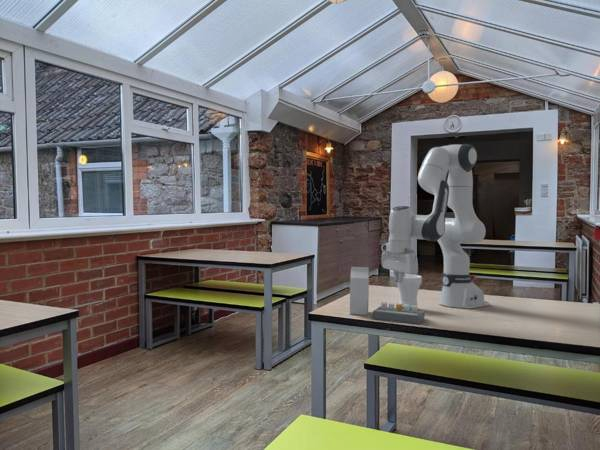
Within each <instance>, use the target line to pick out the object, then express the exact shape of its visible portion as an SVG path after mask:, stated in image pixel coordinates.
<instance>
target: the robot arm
mask: <svg viewBox="0 0 600 450" xmlns="http://www.w3.org/2000/svg"><path fill="white" fill-rule="evenodd" d="M426 153H427V154H426V155H425V157H424V158H423V160H422V163H421V166H420V168H419V171H418V175H417V181H418V185H419V186H420V188H421V189H423V190H424V191H425V192H427V193H429V194H431V195H433V196H434V199H433V205H432V211H431V213H430V214H425V215H424V214H416V213H414V212H413V211H412V209H411V207H410V206H408V205H401V206H394V207H392V208H391V210H390V212H389V217H388V232H389V237H388V242H386V243H385V244H382V245H381V251H382V253H381V266H382V268H383V269H386V270H390V271H392V272H393V277H394V282H395V283H396V282H397V283H403V278H404V276H405V274H411V275H418V272H419V263H418V261H419V260H418V257H417V253H416V252H415V250H414V249H412V239H416V240H425V241H430V242H437V243H438V244H439V246H440V249H441V253H442V257H443V272H442V278H441V279H442V280H441V281H442V290H441V295H440V298H439V301H438V304H439V305H441V306H444V307H449V308H458V309H459V308H461V309H468V310H469V309H475V308H480V307H481V308H482V307H487V306H490V302H489V301H486V300H485V293H484V291H483V290H482V289H481V288H480V287H479V286H477V285H476V284H475V283H474V282H473V280H475V281H476V280H477V279H478V276H477V275H476V274H470V266H471V265H470V264H471V263H470V262H471V261H470V255H469V254H468V253H467V252H466V251H464V250H463V248H462V246H461V244H467V245H469V244H470V245H471V244H478V243H481V242H482V241H483V240H484V238H485V237H486V227H485V223H483V222H482V221H481V220H480V219H479V218H478V216H477V215H476V212H475V209H474V205H473V186H474V179H473V178H474V177H473V171H472V169H473V168H474V166H476V163H477V161H478V153H477V150H476V148H475V146H474V145H472V144H468V143H463V144H460V143H459V144H456V143H455V144H448V145H443V146H434V147H432V148H430V149H429V150H428V152H426ZM446 178H447V180H446ZM448 208H449V209H451V210H452V211H453V214H454V217H446V215H447V210H448ZM397 283H396V284H397Z"/></svg>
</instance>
